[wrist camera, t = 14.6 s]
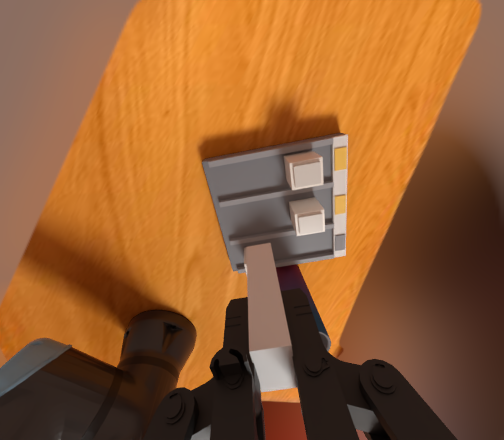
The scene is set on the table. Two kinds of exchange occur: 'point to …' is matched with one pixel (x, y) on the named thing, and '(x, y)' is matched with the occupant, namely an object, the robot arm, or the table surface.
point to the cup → (292, 280)
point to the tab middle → (307, 216)
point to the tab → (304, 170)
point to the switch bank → (279, 201)
